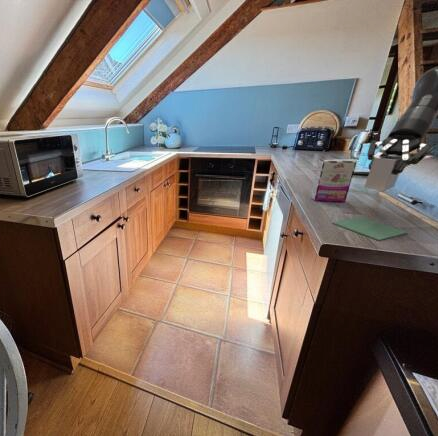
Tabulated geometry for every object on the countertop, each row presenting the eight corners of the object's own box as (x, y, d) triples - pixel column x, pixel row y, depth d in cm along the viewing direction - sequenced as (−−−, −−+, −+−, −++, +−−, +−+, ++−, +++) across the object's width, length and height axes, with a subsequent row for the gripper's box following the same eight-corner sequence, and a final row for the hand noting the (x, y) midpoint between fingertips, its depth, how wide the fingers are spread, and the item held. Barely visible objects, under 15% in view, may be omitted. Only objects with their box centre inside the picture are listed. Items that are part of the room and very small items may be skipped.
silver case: (363, 187, 74) (374, 157, 71) (374, 183, 78) (384, 155, 75) (384, 191, 71) (396, 159, 67) (394, 186, 74) (405, 157, 71)
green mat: (359, 217, 83) (359, 216, 83) (407, 233, 72) (408, 232, 71) (332, 223, 79) (332, 222, 79) (378, 241, 68) (379, 239, 67)
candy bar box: (339, 199, 102) (351, 159, 95) (345, 202, 97) (358, 161, 91) (309, 197, 104) (319, 158, 98) (313, 201, 100) (324, 160, 93)
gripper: (446, 136, 69) (415, 183, 68) (381, 134, 81) (354, 174, 80) (450, 116, 65) (417, 167, 64) (381, 117, 76) (352, 160, 75)
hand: (382, 171), depth 72 cm, fingers closed on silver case, 5 cm apart
